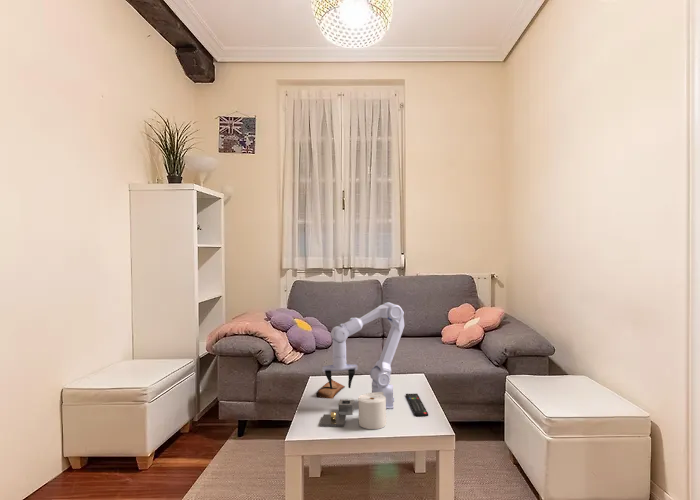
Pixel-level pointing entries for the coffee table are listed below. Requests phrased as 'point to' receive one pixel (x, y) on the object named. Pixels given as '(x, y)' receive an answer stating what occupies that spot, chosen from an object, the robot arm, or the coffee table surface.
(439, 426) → the coffee table surface
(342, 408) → the grey stepped block
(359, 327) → the robot arm
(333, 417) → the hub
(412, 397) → the remote control
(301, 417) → the coffee table surface
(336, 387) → the sunglasses case
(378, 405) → the toilet tissue
